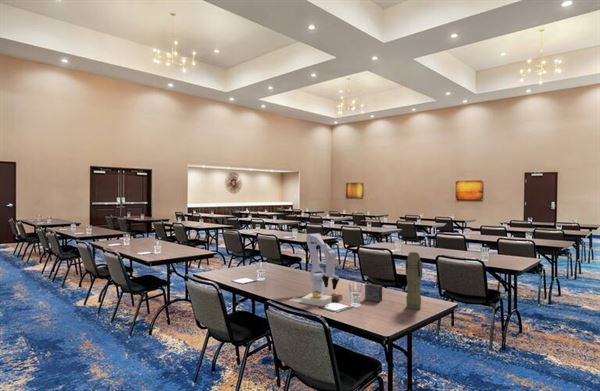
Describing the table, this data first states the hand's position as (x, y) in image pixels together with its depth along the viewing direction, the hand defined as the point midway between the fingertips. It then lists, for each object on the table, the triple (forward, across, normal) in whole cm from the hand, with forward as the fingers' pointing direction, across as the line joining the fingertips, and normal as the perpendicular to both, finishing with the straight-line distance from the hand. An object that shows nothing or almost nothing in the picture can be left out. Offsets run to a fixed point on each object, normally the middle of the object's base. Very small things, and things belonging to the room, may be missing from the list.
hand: (330, 288), depth 245 cm
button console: (+8, +1, +4) cm, 10 cm away
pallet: (+9, -3, -10) cm, 13 cm away
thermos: (+9, +44, +31) cm, 55 cm away
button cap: (+7, +1, +4) cm, 8 cm away
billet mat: (+8, -15, -17) cm, 24 cm away
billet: (+8, -3, -10) cm, 13 cm away
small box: (+9, +18, +24) cm, 31 cm away
